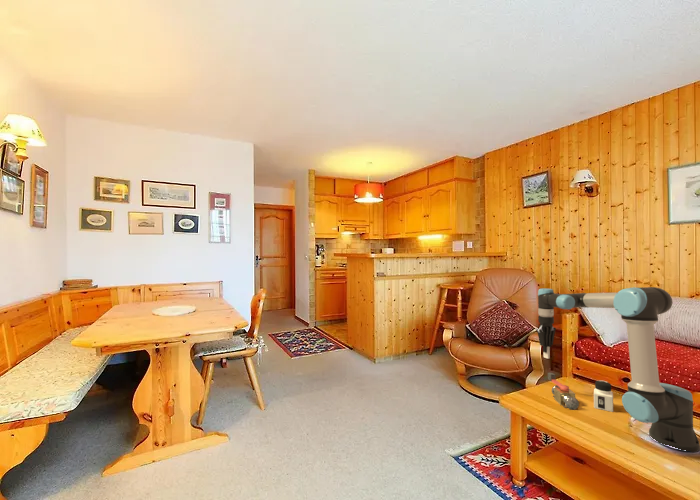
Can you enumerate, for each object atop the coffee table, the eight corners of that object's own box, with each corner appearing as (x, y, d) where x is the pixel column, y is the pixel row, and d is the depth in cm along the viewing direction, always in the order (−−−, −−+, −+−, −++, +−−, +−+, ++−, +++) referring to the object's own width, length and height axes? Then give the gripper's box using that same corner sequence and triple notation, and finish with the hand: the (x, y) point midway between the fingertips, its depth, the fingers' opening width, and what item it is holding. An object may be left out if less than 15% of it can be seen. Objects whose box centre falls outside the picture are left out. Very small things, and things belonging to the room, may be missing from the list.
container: (613, 412, 164) (612, 386, 164) (593, 408, 169) (593, 382, 169) (612, 406, 170) (612, 381, 170) (594, 402, 175) (593, 378, 175)
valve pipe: (580, 410, 166) (579, 397, 167) (565, 409, 168) (564, 396, 168) (564, 396, 182) (564, 384, 182) (550, 395, 183) (550, 384, 183)
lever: (570, 391, 173) (570, 383, 173) (562, 391, 173) (562, 383, 173) (553, 380, 189) (553, 372, 189) (546, 379, 189) (546, 372, 189)
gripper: (543, 318, 181) (544, 361, 180) (560, 316, 185) (561, 358, 185) (531, 315, 188) (532, 357, 187) (548, 314, 192) (548, 354, 192)
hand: (546, 357), depth 186 cm, fingers closed
